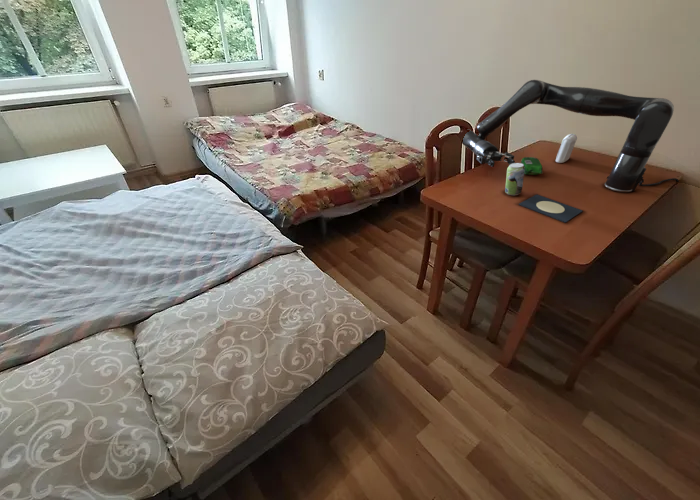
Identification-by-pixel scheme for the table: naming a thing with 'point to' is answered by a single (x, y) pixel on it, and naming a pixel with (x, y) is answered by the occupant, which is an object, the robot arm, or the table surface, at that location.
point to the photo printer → (566, 148)
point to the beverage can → (514, 178)
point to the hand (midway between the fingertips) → (503, 164)
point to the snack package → (532, 166)
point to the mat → (551, 208)
